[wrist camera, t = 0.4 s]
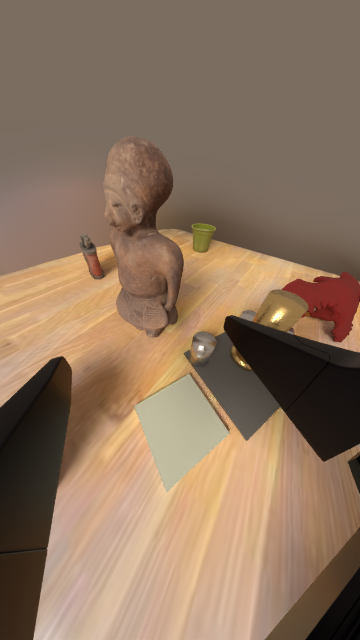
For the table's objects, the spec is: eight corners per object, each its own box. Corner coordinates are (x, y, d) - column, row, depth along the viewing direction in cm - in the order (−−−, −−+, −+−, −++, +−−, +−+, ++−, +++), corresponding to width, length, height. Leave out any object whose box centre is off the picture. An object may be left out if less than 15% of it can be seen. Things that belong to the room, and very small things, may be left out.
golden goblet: (268, 361, 27) (322, 306, 18) (247, 377, 24) (299, 322, 15) (244, 339, 30) (279, 283, 21) (224, 351, 28) (254, 293, 18)
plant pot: (204, 256, 60) (209, 231, 53) (185, 249, 63) (187, 226, 57) (214, 249, 65) (219, 227, 59) (195, 244, 69) (198, 222, 62)
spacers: (312, 372, 26) (336, 357, 23) (247, 440, 19) (267, 433, 15) (249, 321, 34) (259, 304, 31) (184, 354, 26) (188, 336, 23)
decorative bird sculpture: (340, 327, 42) (336, 274, 41) (395, 330, 34) (391, 262, 32) (264, 352, 34) (256, 286, 33) (311, 364, 25) (302, 275, 24)
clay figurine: (109, 325, 30) (35, 124, 13) (145, 302, 36) (129, 144, 19) (157, 361, 25) (147, 119, 8) (189, 328, 31) (224, 149, 14)
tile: (228, 434, 19) (229, 433, 19) (166, 491, 15) (166, 492, 15) (188, 375, 24) (189, 373, 24) (134, 407, 20) (134, 405, 20)
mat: (312, 372, 26) (313, 372, 26) (246, 440, 19) (247, 440, 19) (247, 321, 34) (248, 320, 34) (183, 353, 27) (184, 353, 27)
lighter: (87, 268, 45) (73, 231, 38) (99, 266, 47) (88, 230, 40) (93, 280, 41) (78, 241, 34) (106, 277, 42) (95, 239, 35)
